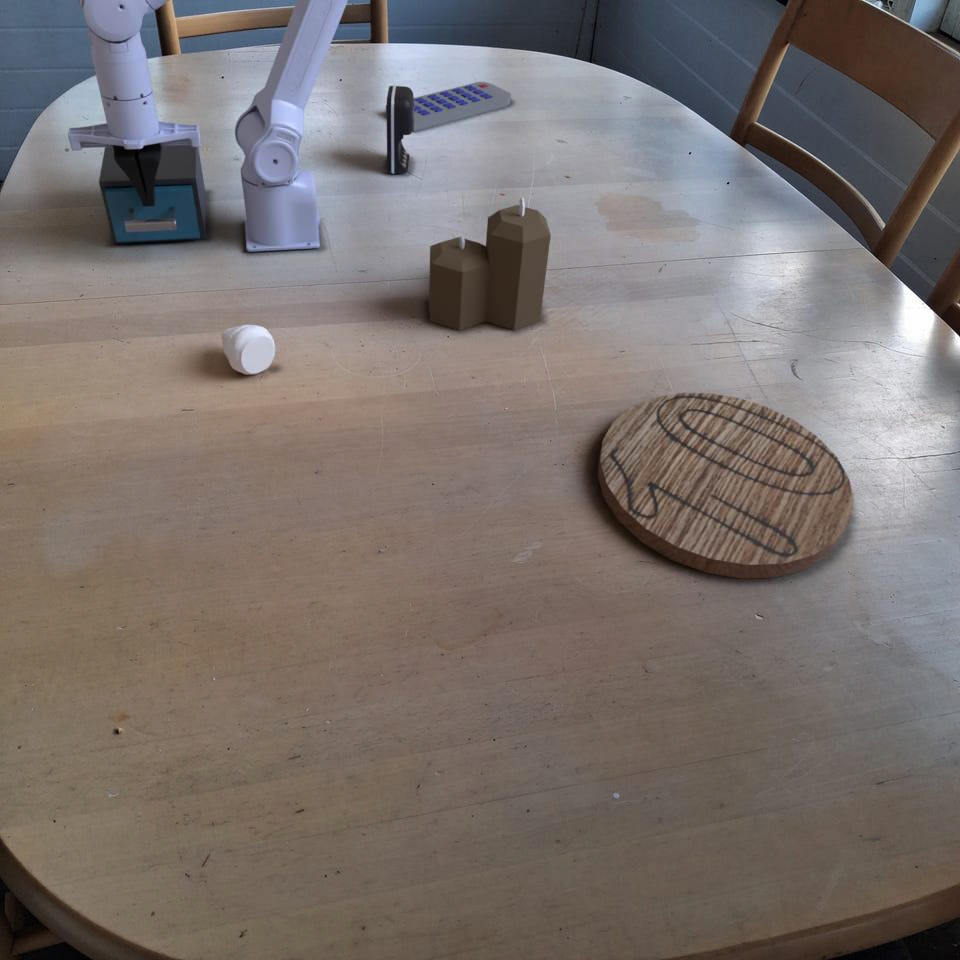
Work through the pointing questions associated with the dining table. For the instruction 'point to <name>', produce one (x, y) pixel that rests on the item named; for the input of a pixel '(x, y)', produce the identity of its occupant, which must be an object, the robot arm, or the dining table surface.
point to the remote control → (457, 104)
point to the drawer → (153, 214)
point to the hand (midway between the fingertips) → (149, 202)
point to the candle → (492, 273)
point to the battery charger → (398, 127)
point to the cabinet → (161, 180)
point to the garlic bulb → (248, 348)
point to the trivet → (724, 485)
